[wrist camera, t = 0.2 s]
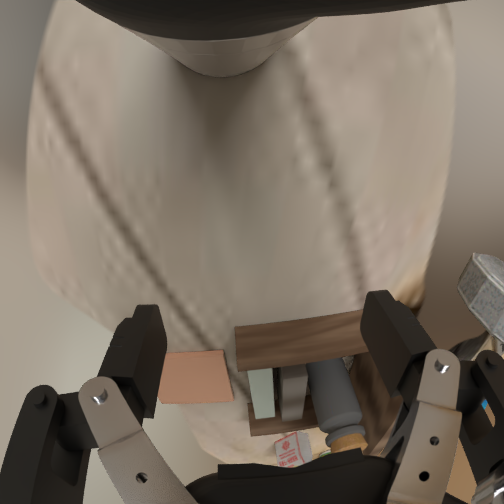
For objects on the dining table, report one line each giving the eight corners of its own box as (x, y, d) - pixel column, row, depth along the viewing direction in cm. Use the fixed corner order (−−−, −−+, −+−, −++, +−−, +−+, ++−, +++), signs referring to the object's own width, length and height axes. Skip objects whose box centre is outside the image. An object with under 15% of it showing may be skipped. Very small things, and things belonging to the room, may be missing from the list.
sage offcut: (244, 341, 37) (246, 368, 33) (267, 338, 37) (271, 365, 33) (253, 396, 44) (255, 419, 40) (271, 393, 44) (274, 416, 40)
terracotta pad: (138, 353, 37) (136, 359, 36) (223, 349, 37) (223, 355, 36) (162, 398, 43) (161, 403, 42) (233, 396, 43) (234, 401, 43)
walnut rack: (234, 324, 35) (241, 428, 23) (380, 304, 36) (427, 388, 24) (248, 407, 46) (255, 480, 34) (354, 390, 46) (376, 456, 34)
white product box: (307, 433, 55) (316, 472, 46) (286, 444, 57) (292, 481, 48) (296, 431, 53) (304, 471, 45) (274, 442, 55) (280, 480, 47)
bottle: (320, 378, 43) (343, 461, 30) (296, 367, 41) (316, 459, 28) (349, 358, 41) (380, 443, 28) (326, 345, 39) (357, 439, 26)
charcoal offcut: (276, 343, 38) (283, 379, 32) (298, 340, 38) (308, 375, 33) (276, 390, 44) (282, 421, 39) (295, 388, 44) (301, 418, 39)
